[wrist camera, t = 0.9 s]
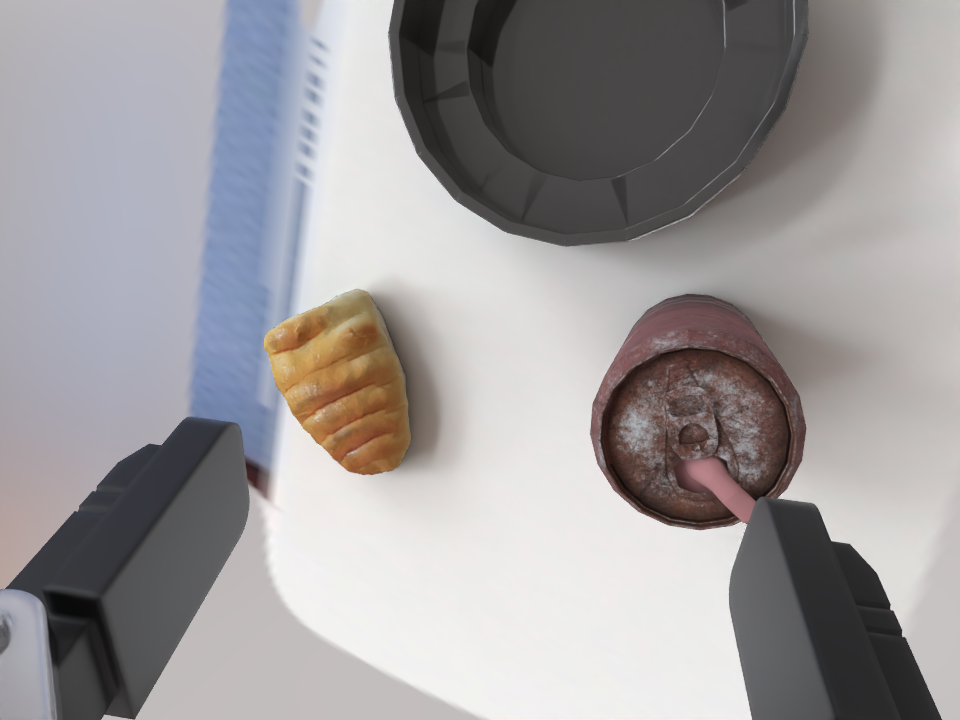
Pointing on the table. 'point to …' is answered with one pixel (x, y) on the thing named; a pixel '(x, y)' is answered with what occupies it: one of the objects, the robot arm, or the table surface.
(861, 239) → the table surface
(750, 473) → the can
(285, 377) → the pastry
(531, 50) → the bowl
